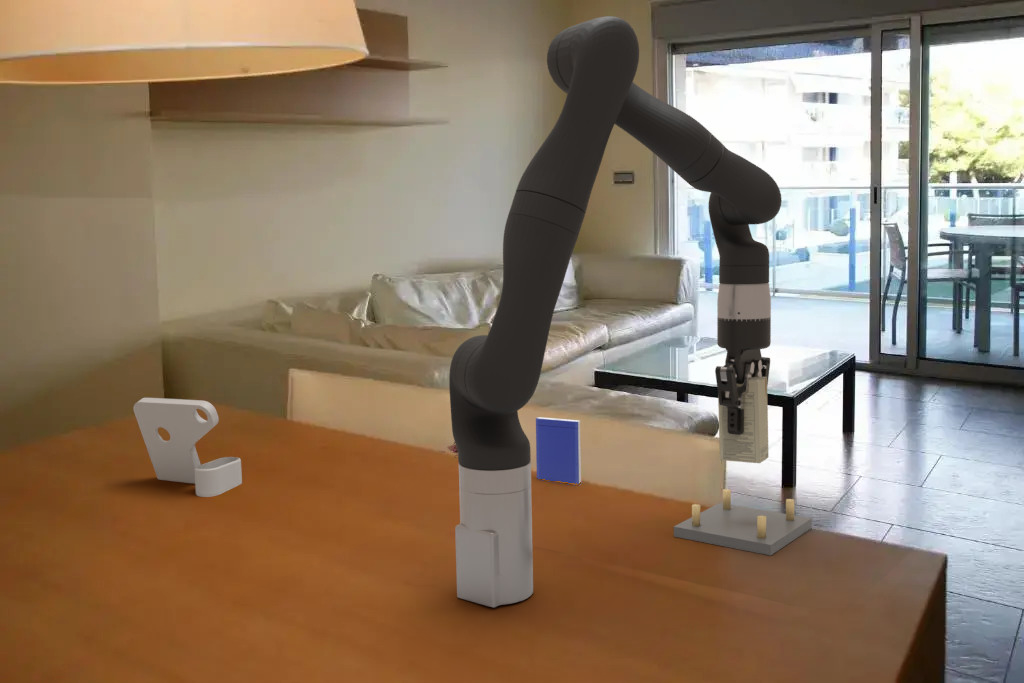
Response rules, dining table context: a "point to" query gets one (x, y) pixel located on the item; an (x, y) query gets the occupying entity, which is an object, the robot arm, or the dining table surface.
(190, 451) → the phone holder
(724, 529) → the standoff plate
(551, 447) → the hard drive
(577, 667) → the dining table surface
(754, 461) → the skincare box
